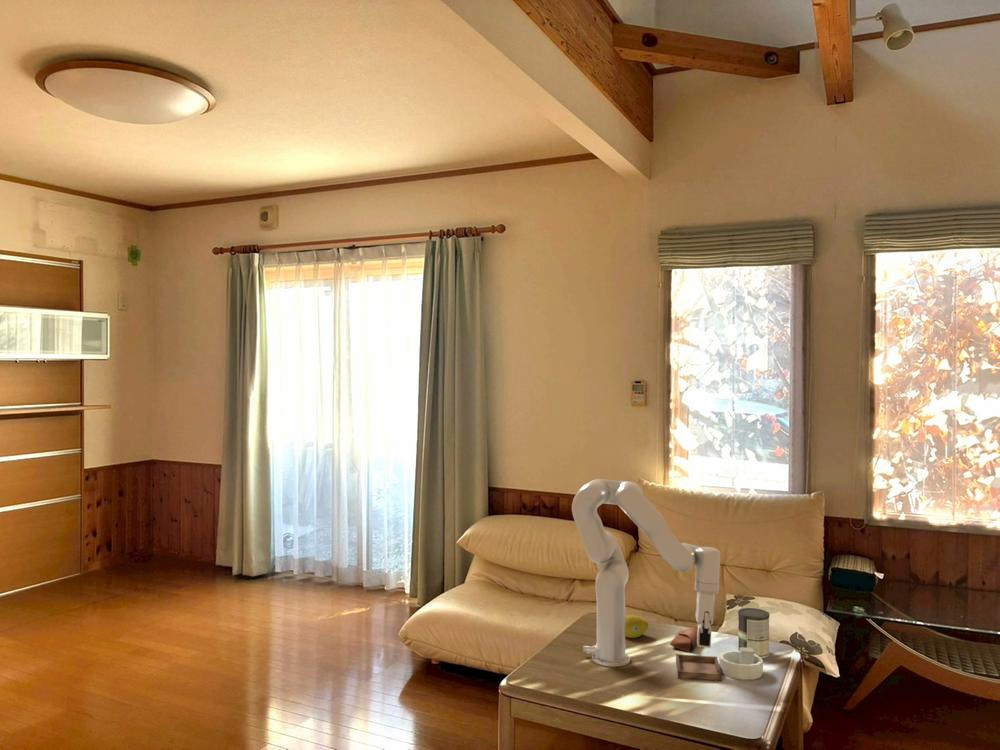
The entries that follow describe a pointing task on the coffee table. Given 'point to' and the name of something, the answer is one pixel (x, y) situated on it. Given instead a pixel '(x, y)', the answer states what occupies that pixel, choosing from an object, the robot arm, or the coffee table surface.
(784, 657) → the coffee table surface
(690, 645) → the sunglasses case
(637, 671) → the coffee table surface
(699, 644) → the beige brick
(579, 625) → the coffee table surface
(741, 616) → the coffee can
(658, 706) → the coffee table surface
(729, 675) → the celadon bowl
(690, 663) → the walnut tray
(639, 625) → the lemon
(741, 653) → the light grey block
